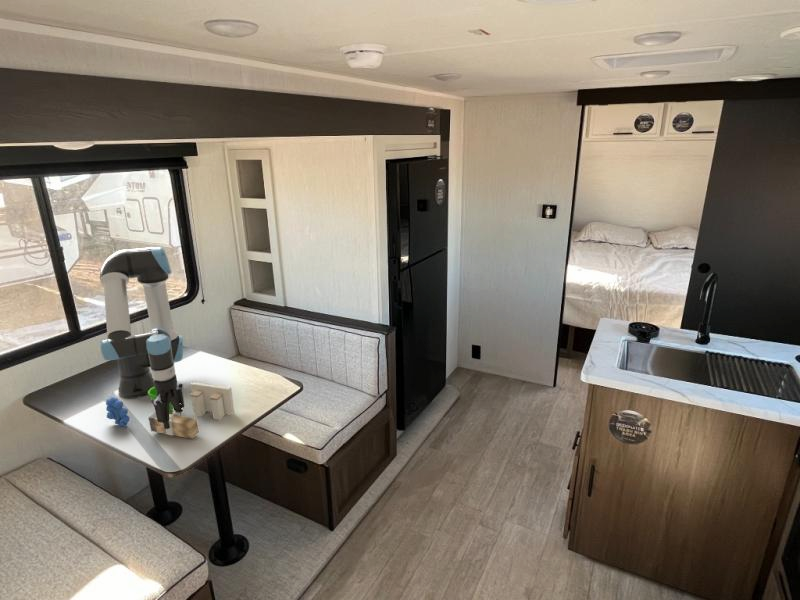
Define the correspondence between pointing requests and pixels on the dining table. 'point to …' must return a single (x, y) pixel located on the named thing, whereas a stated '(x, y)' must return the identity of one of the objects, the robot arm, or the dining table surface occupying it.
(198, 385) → the headboard
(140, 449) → the dining table surface
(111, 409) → the grapes
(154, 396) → the cup
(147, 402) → the dining table surface
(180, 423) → the block
